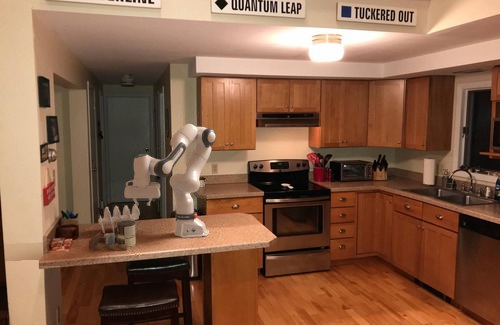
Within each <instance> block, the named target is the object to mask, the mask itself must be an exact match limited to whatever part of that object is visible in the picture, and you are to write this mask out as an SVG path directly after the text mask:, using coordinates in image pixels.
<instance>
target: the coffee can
mask: <svg viewBox="0 0 500 325" xmlns="http://www.w3.org/2000/svg"><path fill="white" fill-rule="evenodd" d="M116 228H117V229H116V230H117V237H118V243H117V244H127V250H128V249H131V248H134V247H136V246H137V244H136V243H137V242H136V241H137V240H136V220H135V221H130V220H129V221H121V222H117V223H116Z"/></svg>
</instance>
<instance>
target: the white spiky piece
mask: <svg viewBox="0 0 500 325" xmlns="http://www.w3.org/2000/svg"><path fill="white" fill-rule="evenodd" d="M130 210H131V211H130ZM140 215H141V213H140V208H138V206H135V204H133V206H132V209H130V208H129V207H128V205H124V207H123V210H122V215H121V211H120V209H119V206H117V205H115V206H114V207H113V213H112V215H111V211H110V210H109V207H108V206H105V208H104V210H103V218H102V216H101V215H99V218H98V225H99V226H101V229H102V230H101V231H102V233H103V234H104V235H105V234H106V233H105V229H106V226H107V225H111V229H112V233H115V225H116V226H117V223H118V222H121V221H135V222H136V220H139V216H140Z"/></svg>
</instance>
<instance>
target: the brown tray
mask: <svg viewBox="0 0 500 325" xmlns="http://www.w3.org/2000/svg"><path fill="white" fill-rule="evenodd" d="M106 238H107V237H104V236H102V232H98V233H96V234H95V235H94V236H93V237H91V238H90V239H89V240H88V249H89V252H90V251H93V252H94V251H97V252H98V251H99V252H100V251H106V252H107V251H127V250H128V249H127V244H118V236H115V243H114V244H113V245H106ZM116 243H117V244H116Z"/></svg>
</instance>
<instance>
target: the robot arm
mask: <svg viewBox="0 0 500 325" xmlns="http://www.w3.org/2000/svg"><path fill="white" fill-rule="evenodd" d="M216 139H217V133H216V131H215V130H214V129H212V128H209V127H208V128H207V127H204V126H196V125H193V124H192V123H187V124H185V125H183V126H182V127H181V128H179V130H177V131H176V132H175V133H174V134H173V135H172V137H171V139H170V145H171V147H172V148H173V149H172V151H170V153H169V154H168V156H167V157H166V158H163V159H159V158H155V157H152V156H150V155H148V153H140V154H137V155H136V156H134V159H133V172H134V175H133V179H131V180H129V181H127V182H125V187H124V192H123V193H124V195H123V196H124V198H125V199H133V200H132V201H133V202H134V203H135V206H137V207H138V206H139V204H140V203H139V202H138V201H137V199H148V202H146V206H147V207H148V206H149V207H150V206H151V202H152V200H153V199H160V197H161V184H160V183H159V182H157V181H151V177H150V176H152V175H153V176H156V177H160V178H163V179H164V178H167V177H169V176H170V175H171V173H172V172H173V169H174V167H175V165H176V164H177V163H178V162H179V160H180V159H181V157H182V156H183V155H184V154H185V152H186V150H187V148H188V147H190V145H191V144H192V143H195V144H196V145H195V147H194V149H193V151H192V153H191V154H190V156H189V158H188V160H187V161H186V163H185V166H186V169H185V172H184V173H176V174H173V175H172V176H171V177H170V178H169V185H170V187H171V188H172V191H173V194H174V198H175V207H176V212H175V222H176V223H175V230H174V236H176V237H180V238H182V239H186V238H201V237H202V236H205V237H208V236H209V235H208V234H210V230H209V229H208V228H207V226H206V224H205V222H204V221H202V220H201V219H199V218H198V214H197V212H195V210H194V199H193V197H192V196H191V193H192V194H193V193H196V192H197V191H199V189H200V186H201V182H200V178H201V173H202V171H203V168H204V167H205V165H206V164H207V162H208V160H209V158H210V156H211V152H212V146H213V145H214V144H215V142H216ZM202 238H203V237H202Z"/></svg>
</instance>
